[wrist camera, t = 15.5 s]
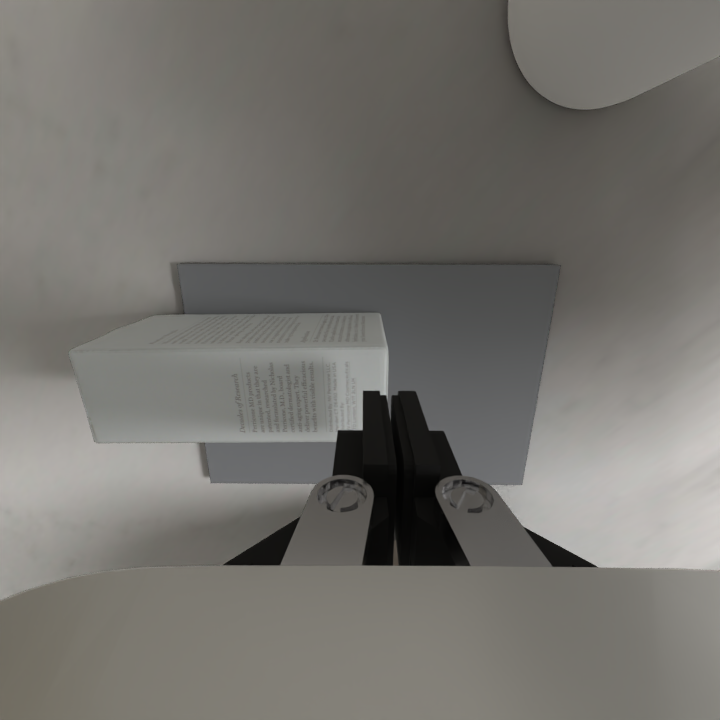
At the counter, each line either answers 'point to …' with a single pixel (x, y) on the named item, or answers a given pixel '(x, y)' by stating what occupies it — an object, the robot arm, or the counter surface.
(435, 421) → the mat
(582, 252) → the counter surface
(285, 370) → the skincare box
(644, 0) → the pill bottle
